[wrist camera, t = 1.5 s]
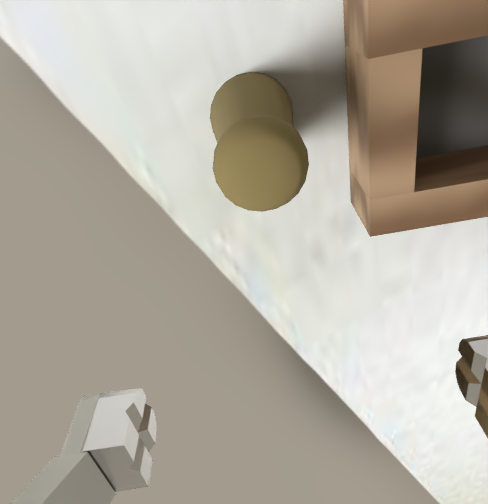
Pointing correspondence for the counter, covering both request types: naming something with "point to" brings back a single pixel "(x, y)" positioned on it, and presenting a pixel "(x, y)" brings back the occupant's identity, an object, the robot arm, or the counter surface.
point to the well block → (417, 111)
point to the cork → (256, 143)
